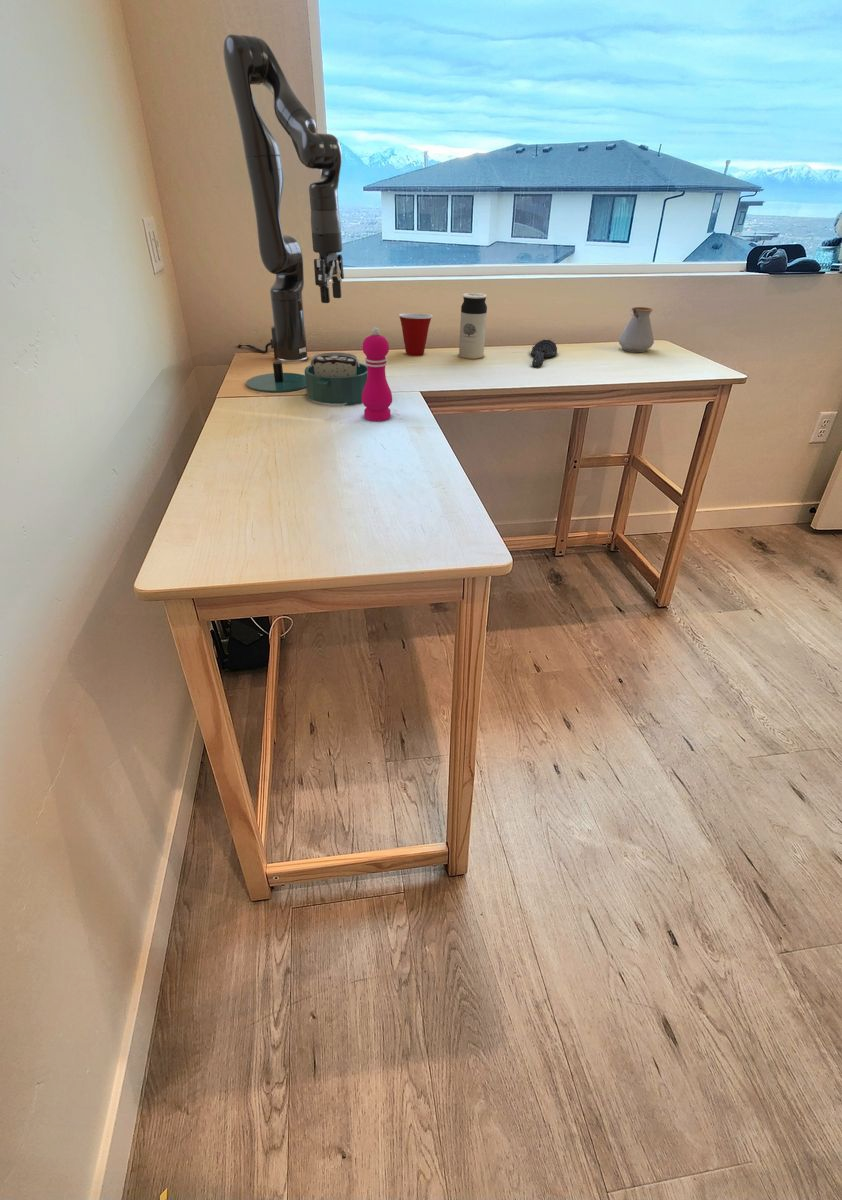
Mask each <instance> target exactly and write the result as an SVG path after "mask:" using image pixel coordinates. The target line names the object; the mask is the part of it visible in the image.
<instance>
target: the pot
mask: <svg viewBox="0 0 842 1200" xmlns="http://www.w3.org/2000/svg"><path fill="white" fill-rule="evenodd" d="M367 374H368V370H367V365H366V364H365V363H361V362H359V367H358V364H357V373H356V375H355V376H350V377H323V376H318V375H315V373H314V367H313V364H312V365H311V364H310V365H308V366H306V367H305V368H304V375H305V382H306V388H305V392H306V393H305V394H306V397H307V398H308V399H309V400H311V401H314V402H317V403H322V404H331V405H332V404H333V405H337V404H339V405H342V404H343V405H344V407H345V406H353V405H358V404H363V403H362V392H363V389H364V387H365V384H366V381H367Z"/></svg>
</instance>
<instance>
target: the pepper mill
mask: <svg viewBox="0 0 842 1200" xmlns="http://www.w3.org/2000/svg"><path fill="white" fill-rule="evenodd" d="M370 332H371V335H368V336H366V337H365V338H364V340H363V342H362V346H361V347H362V353H363V354H364V355H365V356H366V357H365V358H364V361H365V362H364V365H367V370H368V374H367V381H366V384H365V387H364V389H363V392H362V403H361V404H363V406H364V407H365V408H364V410H363V416H364V419H365V420H368V421H370V422H384V421H388V420H390V419H391V409H390V408H389V407H390V406H391V405H392V403H393V394H392V390H391V387H390V386H389V382H388V381H387V375H386V366H387V365H388V358H387V356H388V354H389V352H390V344H389V341H388V339H387V338H386V337H384V336H383V335H381V334H380V329H379V328H378V327H373V328H372V329H371V331H370Z"/></svg>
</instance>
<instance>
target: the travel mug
mask: <svg viewBox="0 0 842 1200" xmlns="http://www.w3.org/2000/svg"><path fill="white" fill-rule="evenodd" d="M462 298H463V302H462V303H461V306H460V322H459V323H460V325H459V326H460V327H459V344H458V356H459V357H461V358H463V359H467V360H477V359H482V358H483V357H484V355H485V342H486V328H487V313H488V305H487V303H486V299H487V298H488V295H487V294H485V293H480V292H467V293H463V294H462Z"/></svg>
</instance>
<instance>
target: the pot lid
mask: <svg viewBox="0 0 842 1200" xmlns="http://www.w3.org/2000/svg"><path fill="white" fill-rule="evenodd" d="M272 368H273V372H271V373H270V372H269V373H264V374H258V375H255V376H252V377H250V378H249V379H247V380H246V382H245V384H246V388H248V389H250V390H252V391H256V392H261V393H262V392H263V393H291V392H295V391H301V390H303V389H304V390H305V389H306V382H305V374H301V373H296V372H295V373H294V372H284V370H283V361H274V362H272Z"/></svg>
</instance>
